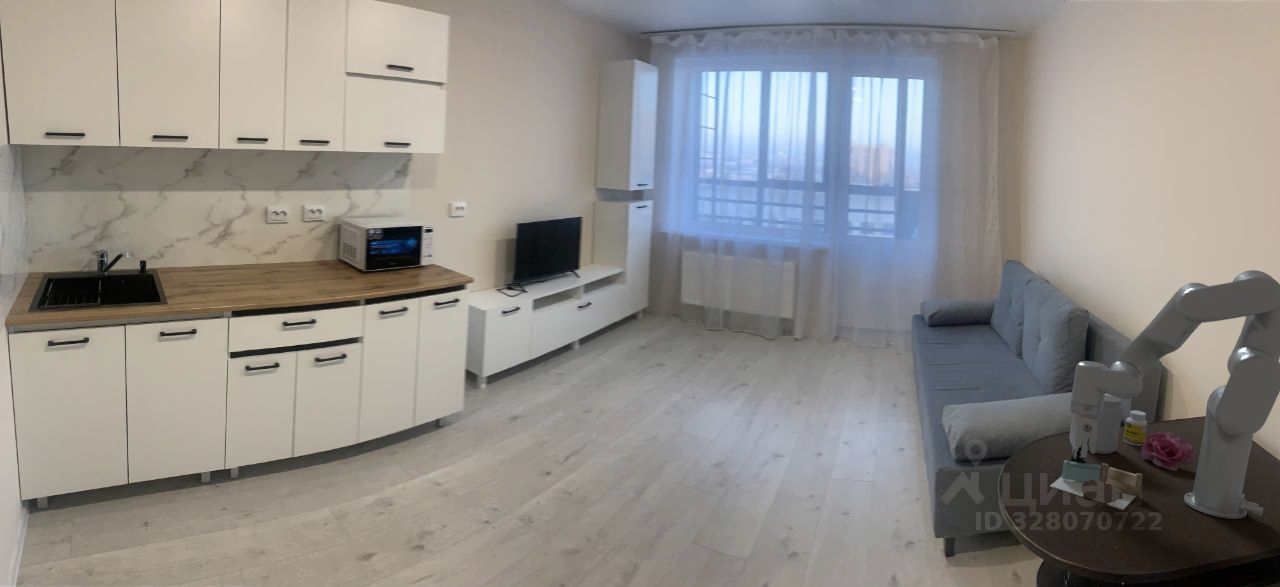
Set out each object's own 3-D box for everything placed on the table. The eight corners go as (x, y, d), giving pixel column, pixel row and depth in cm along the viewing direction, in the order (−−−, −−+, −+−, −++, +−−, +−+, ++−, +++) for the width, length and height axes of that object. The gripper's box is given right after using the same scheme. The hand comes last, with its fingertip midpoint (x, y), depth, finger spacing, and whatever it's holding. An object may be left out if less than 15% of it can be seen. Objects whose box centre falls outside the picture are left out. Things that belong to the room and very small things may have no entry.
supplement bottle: (1119, 440, 232) (1123, 410, 230) (1130, 438, 234) (1135, 408, 232) (1136, 447, 227) (1141, 416, 225) (1148, 444, 229) (1153, 414, 228)
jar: (1070, 444, 228) (1079, 387, 225) (1094, 440, 232) (1102, 384, 228) (1100, 456, 219) (1109, 397, 216) (1124, 452, 223) (1133, 394, 219)
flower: (1178, 483, 210) (1165, 457, 208) (1146, 471, 220) (1132, 446, 217) (1206, 458, 212) (1193, 431, 210) (1172, 447, 222) (1159, 421, 219)
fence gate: (1096, 481, 201) (1099, 464, 200) (1098, 483, 200) (1100, 466, 199) (1061, 476, 203) (1063, 460, 202) (1062, 479, 202) (1064, 462, 201)
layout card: (1140, 492, 197) (1140, 490, 197) (1123, 510, 187) (1123, 508, 187) (1069, 471, 209) (1069, 469, 209) (1049, 486, 199) (1050, 485, 199)
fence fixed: (1139, 496, 195) (1143, 474, 193) (1138, 497, 194) (1141, 476, 192) (1099, 483, 201) (1102, 462, 200) (1097, 485, 200) (1100, 464, 199)
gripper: (1108, 419, 192) (1097, 486, 196) (1096, 401, 206) (1087, 464, 210) (1075, 414, 195) (1065, 480, 199) (1065, 397, 209) (1056, 459, 212)
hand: (1076, 472), depth 204 cm, fingers closed
